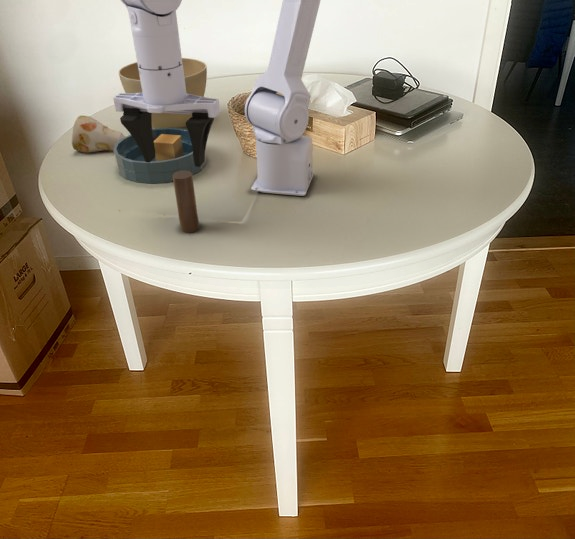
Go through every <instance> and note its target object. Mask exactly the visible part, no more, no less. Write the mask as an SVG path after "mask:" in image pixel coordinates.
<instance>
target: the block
mask: <svg viewBox="0 0 575 539" xmlns="http://www.w3.org/2000/svg"><path fill="white" fill-rule="evenodd" d="M154 146H155V157H156V161H164V160H170V159H175V158H178V157H181V156H183V155H184V153H183V146H182V139H181V135H168V134H161V135H160V136H159V137H158V138H157V139H156V140H155V141H154Z"/></svg>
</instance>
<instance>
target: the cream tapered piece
mask: <svg viewBox="0 0 575 539" xmlns="http://www.w3.org/2000/svg"><path fill="white" fill-rule="evenodd" d="M72 127H73V128H72V135H71V145H72V149H73V150H74V151H77V152H79V153H83V154H84V153H86V154H87V153H88V154H89V153H97V152H104V151H110V152H114V151H113V149H114V146H115V144H116V143H117V142H118V141H120V140H121V139H122V138H124V137H126V135H124V133H123V132H121V131H118V130H114V129H111V128H109V127H108V126H107V125H105V124H103V123H102V122H100V121H99V120H97V119H95V118H93V117H92V116H89V115H78V116H77V118H76V119H75V121H74V124H73V126H72Z"/></svg>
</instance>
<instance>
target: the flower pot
mask: <svg viewBox="0 0 575 539" xmlns="http://www.w3.org/2000/svg"><path fill="white" fill-rule="evenodd" d="M182 63H183V70H184V78H185V86H186V93H187V94H192V95H196V96H201V97H205V93H206V88H207V76H208V67H207V64H206V63H205V62H204V61H202V60H199V59H194V58H188V57H182ZM118 77H119V80H120V83H121V86H122V89H123V91H124V93H143V92H142V87H141V81H140V75H139V70H138V64H137V61H136V62H133V63H129V64H127V65H124V66H123V67H121V68H120V69H119V70H118ZM191 117H192V114H177V113H152V129H157V128H181V129H184V128H185V127H186V121H188V120H189V119H190V118H191Z"/></svg>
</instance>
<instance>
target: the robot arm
mask: <svg viewBox="0 0 575 539" xmlns="http://www.w3.org/2000/svg"><path fill="white" fill-rule="evenodd" d="M182 1H183V0H120V2H121V3H122V4H123V5H124V7H125V8H126V9H127V12H128V18H129V24H130V29H131V35H132V40H133V41H132V42H133V46H134V52H135V57H136V58H135V59H136V62H137V64H138V70H139V75H140V81H141V87H142V92H143V93H125V92H124V93H123V92H119V93H118V94H116V95H115V96H113V97H112V99H113V105H114V108H115V109H114V110H115V112H121V113H122V112H123V113H122V116H120V119H119V120H120V124H121V125H122V126H123V127H124V128H125V129H126V131H127V132H128V133H129V135H132V137H133V138H134V140H135V141H136V143H137V145H138V147H139V149H140V151H141V153H142V155H143V157H144V159H145V162H149V163H150V162H151V161H152V160H153V159H154V158H155V146H154V141H153V135H152V129H153V127H152V113H177V114H192V117H191V118H190V119H189V120H188V121H186V126H185V127H186V130H188V132H189V135H190V139H191V143H192V148H193V158H194V164H195V166H196V167H200V166H201V165H202V164H203V163H204V161H205V153H206V148H207V142H208V138H209V134H210V131H211V128H212V125H213V123H214V120H215V119H216V118H217V117H218V116H219V115H220V113H221V107H220V99H219V98H213V97H212V98H211V97H205V96H204V97H201V96H196V95H192V94H187V93H186V86H185V78H184V70H183V63H182V58H183V56H182V48H181V41H180V34H179V32H180V31H179V24H178V18H177V10H178V9H179V8H180V6H181V4H182ZM320 4H321V0H282V4H281V8H280V12H279V17H278V21H277V26H276V31H275V35H274V39H273V45H272V48H271V53H270V56H269V62H268V66H267V69H266V71H265V72H263V73H262V74H261V75H259V76H258V77H257V78H255V80H254V84H253V88H252V91H251V92H250V94H249V95H248V97H247V99H246V101H245V105H244V118H245V120H246V121H247V122H248V124H249V125H251V126H252V133H253V134H254V136H255V137H254V138H255V152H256V153H255V154H256V156H255V157H256V173H257V178H256V179H255V181H254V182H253V184H252V186H251V188H250V190H252V191H257V193H262V194H263V193H264V194H276V195H285V196H286V195H288V196H299V197H305V196H306V195H307V191H308V190H309V187H310V185H311V182H312V180H313V178H314V174H313V156H314V155H313V150H314V147H313V146H314V144H313V138H312V137H310V136H306V135H303V134H304V133H305V132H306V130H307V127H308V124H309V119H310V111H309V105H310V100H311V94H310V92H309V90H308V89H307V87H306V85H305V83H304V81H303V79H302V78H303V74H304V69H305V65H306V61H307V57H308V53H309V49H310V45H311V42H312V36H313V33H314V29H315V25H316V20H317V16H318V12H319V8H320ZM278 93H280V94H278Z"/></svg>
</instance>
